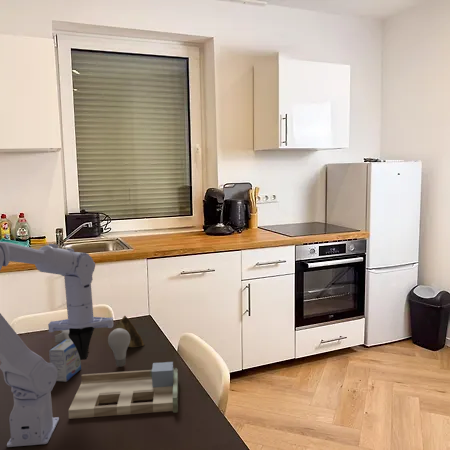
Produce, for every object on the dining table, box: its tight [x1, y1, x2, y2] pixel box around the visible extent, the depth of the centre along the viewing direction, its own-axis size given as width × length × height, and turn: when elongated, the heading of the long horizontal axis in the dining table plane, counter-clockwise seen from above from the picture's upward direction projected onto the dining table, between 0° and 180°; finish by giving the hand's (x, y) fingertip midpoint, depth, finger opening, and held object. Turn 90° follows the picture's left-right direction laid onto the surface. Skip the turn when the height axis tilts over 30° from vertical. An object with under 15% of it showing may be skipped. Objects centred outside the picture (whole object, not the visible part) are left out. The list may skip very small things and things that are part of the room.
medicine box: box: [48, 339, 82, 383], centre depth 123 cm, size 8×4×9 cm, turn 168°
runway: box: [68, 367, 179, 420], centre depth 109 cm, size 16×24×4 cm, turn 95°
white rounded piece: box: [54, 330, 70, 344], centre depth 145 cm, size 10×5×15 cm
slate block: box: [151, 361, 174, 387], centre depth 113 cm, size 5×5×4 cm
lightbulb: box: [107, 328, 130, 368], centre depth 127 cm, size 6×6×11 cm
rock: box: [113, 315, 145, 348], centre depth 146 cm, size 11×9×10 cm
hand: (84, 358), depth 109 cm, fingers closed
